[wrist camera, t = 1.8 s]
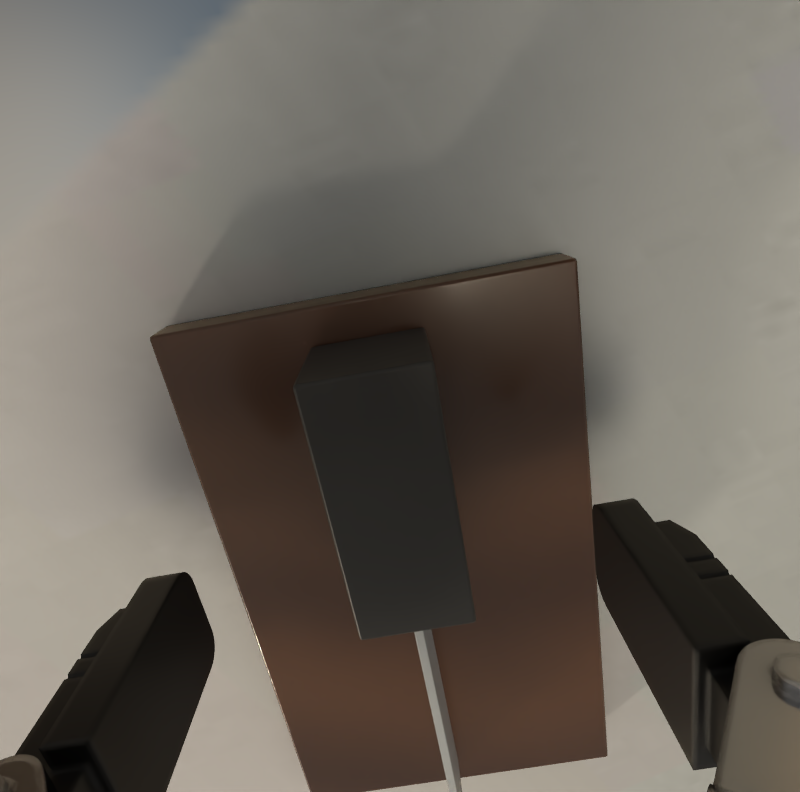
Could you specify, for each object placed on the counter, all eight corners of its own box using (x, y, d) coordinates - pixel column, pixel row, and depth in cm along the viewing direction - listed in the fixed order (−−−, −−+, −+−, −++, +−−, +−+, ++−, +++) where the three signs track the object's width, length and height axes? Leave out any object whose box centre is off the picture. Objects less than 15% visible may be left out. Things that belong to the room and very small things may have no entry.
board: (165, 325, 15) (147, 337, 14) (563, 252, 15) (577, 258, 14) (316, 768, 21) (312, 800, 20) (596, 727, 21) (608, 757, 20)
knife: (309, 346, 14) (290, 386, 11) (424, 325, 14) (433, 360, 11) (414, 766, 20) (418, 862, 17) (495, 754, 20) (514, 848, 17)
